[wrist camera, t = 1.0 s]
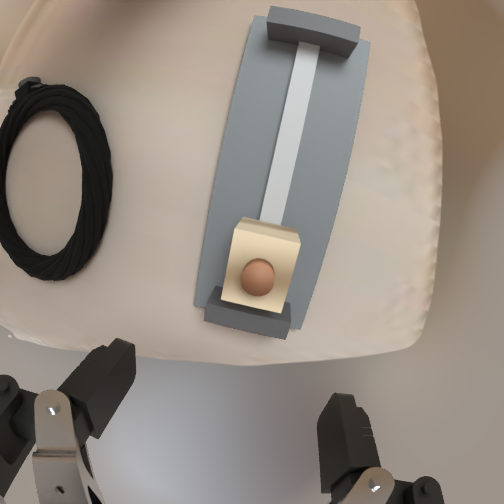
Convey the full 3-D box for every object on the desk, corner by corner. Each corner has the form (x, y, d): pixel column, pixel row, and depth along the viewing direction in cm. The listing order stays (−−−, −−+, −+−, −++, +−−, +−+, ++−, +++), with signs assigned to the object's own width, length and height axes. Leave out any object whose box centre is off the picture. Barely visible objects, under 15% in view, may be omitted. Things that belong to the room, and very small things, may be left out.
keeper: (243, 216, 25) (230, 233, 19) (296, 229, 25) (302, 250, 19) (230, 276, 27) (216, 308, 21) (280, 288, 27) (280, 323, 21)
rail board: (255, 21, 22) (250, -4, 16) (366, 47, 21) (382, 26, 16) (197, 299, 31) (183, 323, 26) (299, 322, 31) (302, 351, 26)
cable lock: (6, 289, 32) (-21, 119, 23) (20, 281, 35) (-6, 119, 27) (125, 277, 28) (92, 29, 19) (141, 265, 32) (108, 39, 23)
